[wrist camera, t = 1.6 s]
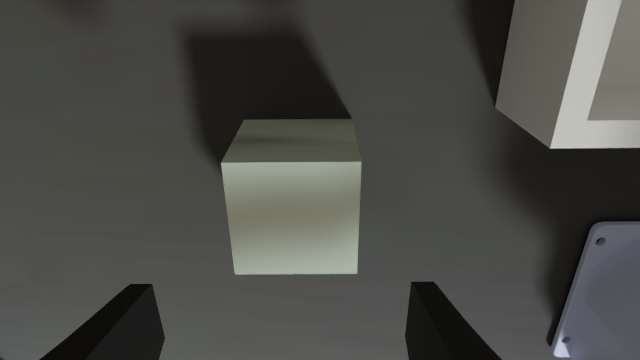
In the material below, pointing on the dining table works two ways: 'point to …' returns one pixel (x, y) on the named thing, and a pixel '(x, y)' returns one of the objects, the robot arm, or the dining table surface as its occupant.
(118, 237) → the dining table surface
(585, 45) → the box
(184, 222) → the dining table surface
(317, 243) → the sage cube
